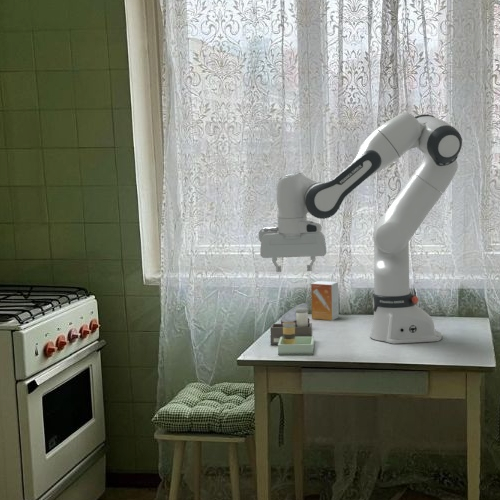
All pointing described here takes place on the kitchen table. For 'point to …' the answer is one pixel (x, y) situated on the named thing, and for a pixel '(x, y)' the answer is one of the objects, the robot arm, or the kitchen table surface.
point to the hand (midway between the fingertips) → (294, 271)
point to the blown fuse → (289, 332)
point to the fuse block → (278, 332)
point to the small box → (325, 300)
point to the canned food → (292, 314)
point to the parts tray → (296, 346)
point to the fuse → (302, 316)
